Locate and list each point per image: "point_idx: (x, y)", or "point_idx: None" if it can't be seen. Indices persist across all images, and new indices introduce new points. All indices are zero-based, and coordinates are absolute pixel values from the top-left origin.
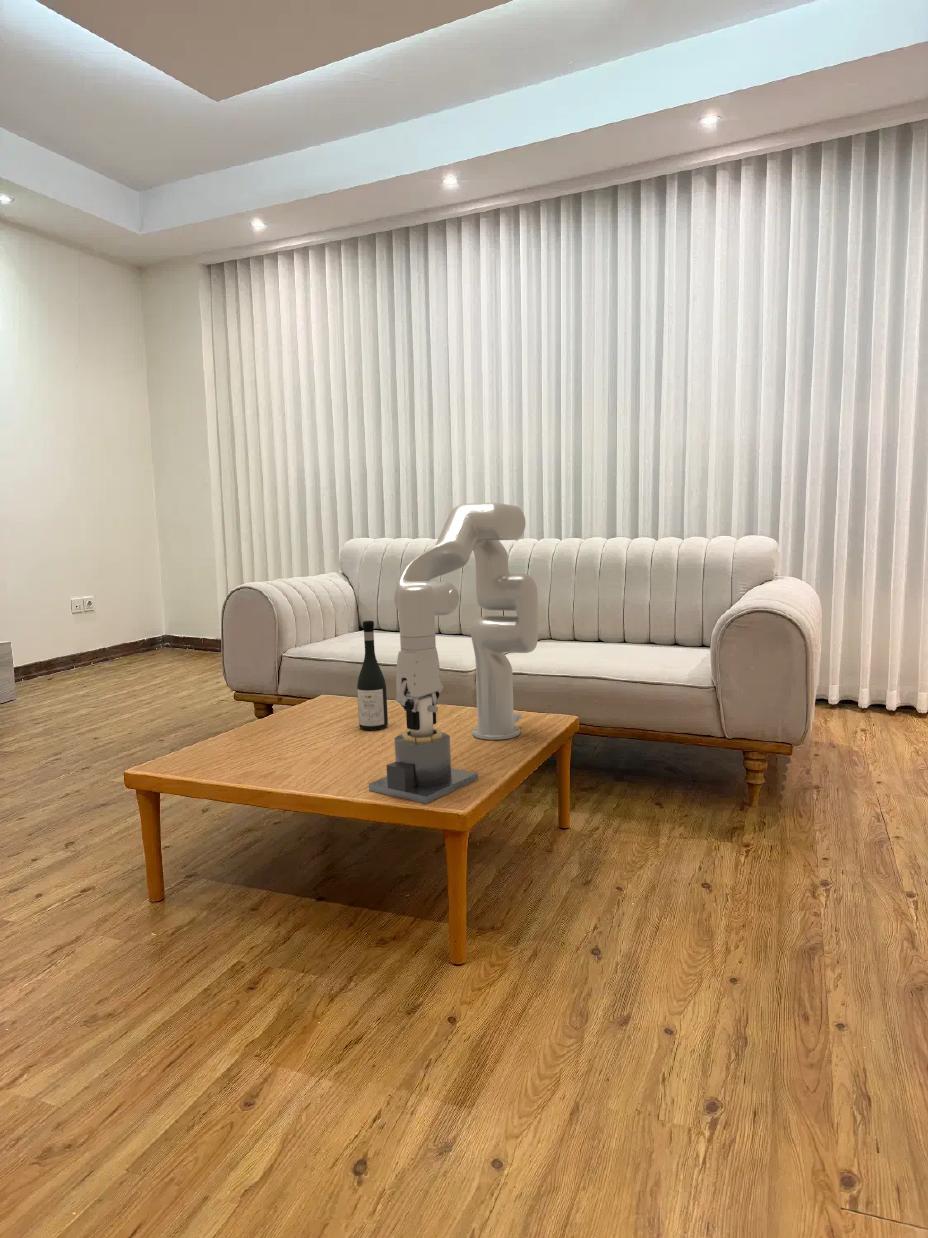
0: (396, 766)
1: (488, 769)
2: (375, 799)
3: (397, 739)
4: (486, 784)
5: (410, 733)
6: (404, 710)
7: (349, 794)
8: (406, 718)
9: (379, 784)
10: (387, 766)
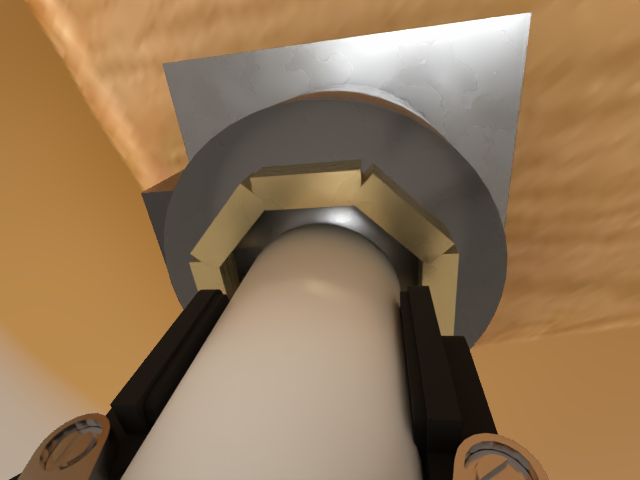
0: (163, 240)
1: (616, 259)
2: (151, 156)
3: (205, 176)
4: None
5: (258, 255)
6: (68, 423)
7: (102, 33)
8: (162, 338)
9: (188, 109)
10: (145, 196)
